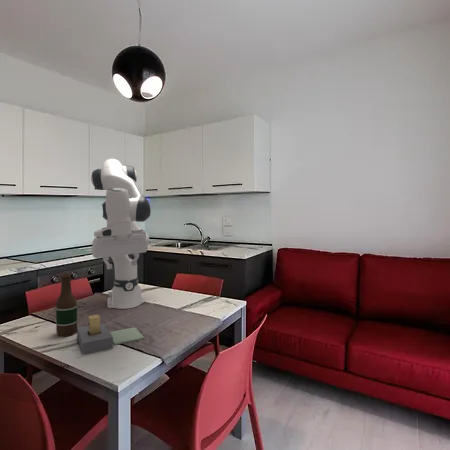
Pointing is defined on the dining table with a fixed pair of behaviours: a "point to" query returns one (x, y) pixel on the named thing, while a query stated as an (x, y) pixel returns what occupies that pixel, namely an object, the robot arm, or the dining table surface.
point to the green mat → (126, 335)
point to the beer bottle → (66, 309)
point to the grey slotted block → (94, 339)
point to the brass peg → (94, 324)
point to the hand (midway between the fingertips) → (122, 267)
